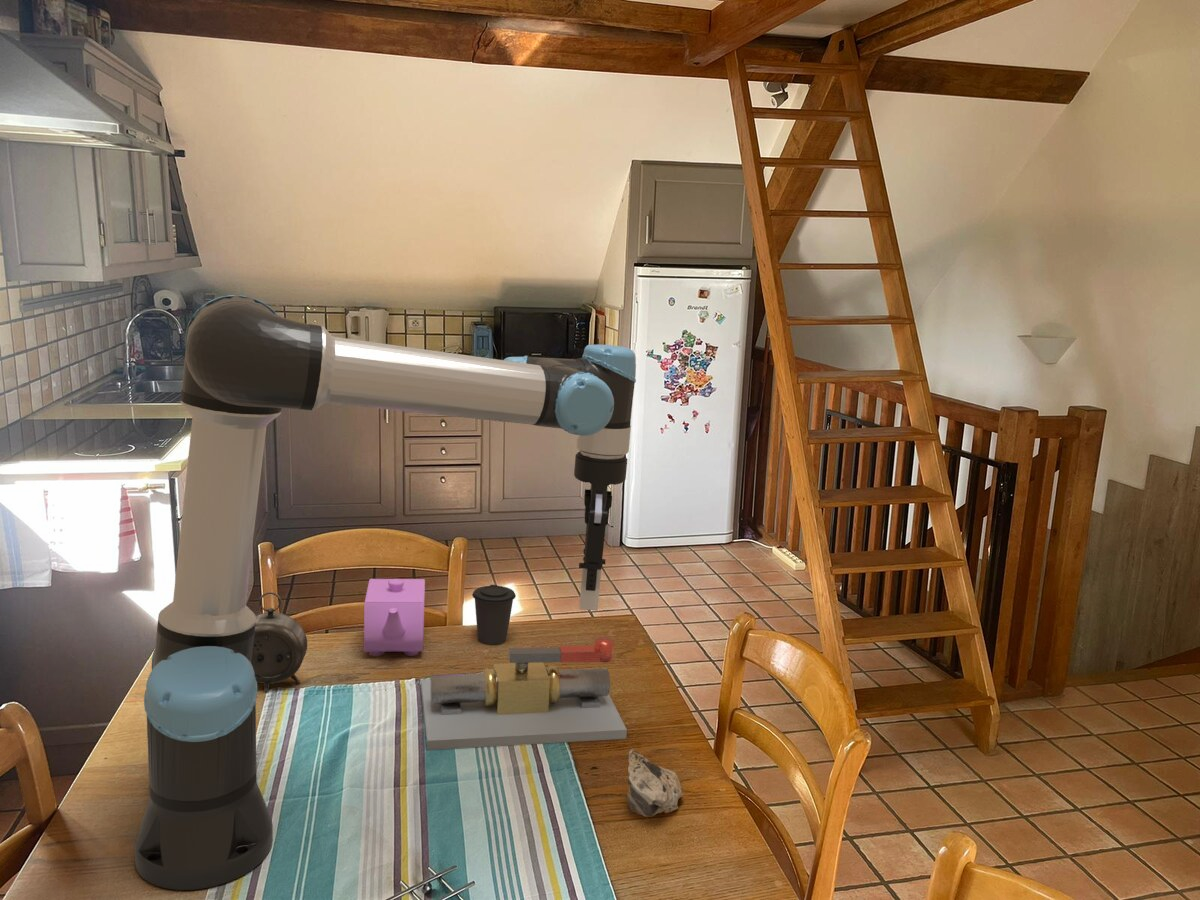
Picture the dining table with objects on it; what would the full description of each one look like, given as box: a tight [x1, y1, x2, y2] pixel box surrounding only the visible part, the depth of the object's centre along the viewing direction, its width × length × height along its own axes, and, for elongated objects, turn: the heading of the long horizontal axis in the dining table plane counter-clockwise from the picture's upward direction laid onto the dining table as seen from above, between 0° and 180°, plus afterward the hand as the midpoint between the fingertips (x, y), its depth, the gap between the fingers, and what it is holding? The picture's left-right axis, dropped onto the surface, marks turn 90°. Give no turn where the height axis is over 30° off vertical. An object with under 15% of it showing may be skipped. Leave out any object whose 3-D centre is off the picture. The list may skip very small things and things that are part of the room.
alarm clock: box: [251, 591, 308, 693], centre depth 154 cm, size 11×5×16 cm, turn 96°
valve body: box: [430, 662, 611, 715], centre depth 151 cm, size 6×28×6 cm, turn 103°
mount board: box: [420, 678, 628, 751], centre depth 152 cm, size 20×30×2 cm, turn 103°
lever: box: [508, 636, 615, 673], centre depth 151 cm, size 16×3×5 cm, turn 100°
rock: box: [626, 748, 685, 818], centre depth 129 cm, size 9×7×10 cm
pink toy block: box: [363, 578, 426, 657], centre depth 171 cm, size 20×10×12 cm, turn 9°
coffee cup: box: [471, 584, 517, 646], centre depth 178 cm, size 8×8×10 cm
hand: (588, 608), depth 142 cm, fingers closed
